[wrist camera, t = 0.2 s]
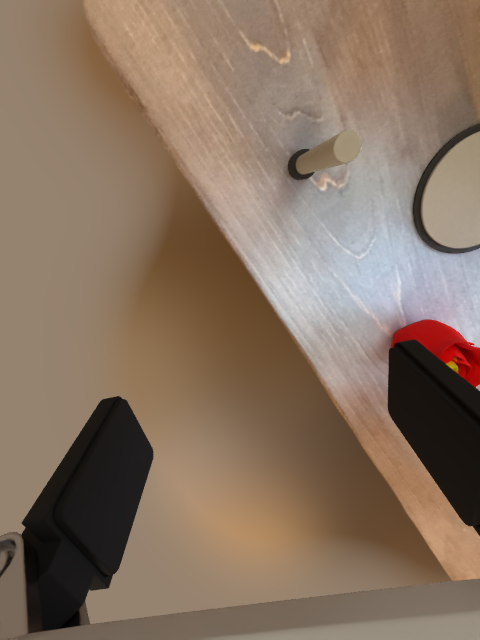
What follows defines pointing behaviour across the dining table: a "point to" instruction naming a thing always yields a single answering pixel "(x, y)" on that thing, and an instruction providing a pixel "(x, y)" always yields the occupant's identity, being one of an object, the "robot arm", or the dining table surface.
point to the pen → (325, 155)
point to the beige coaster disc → (451, 196)
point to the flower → (445, 347)
